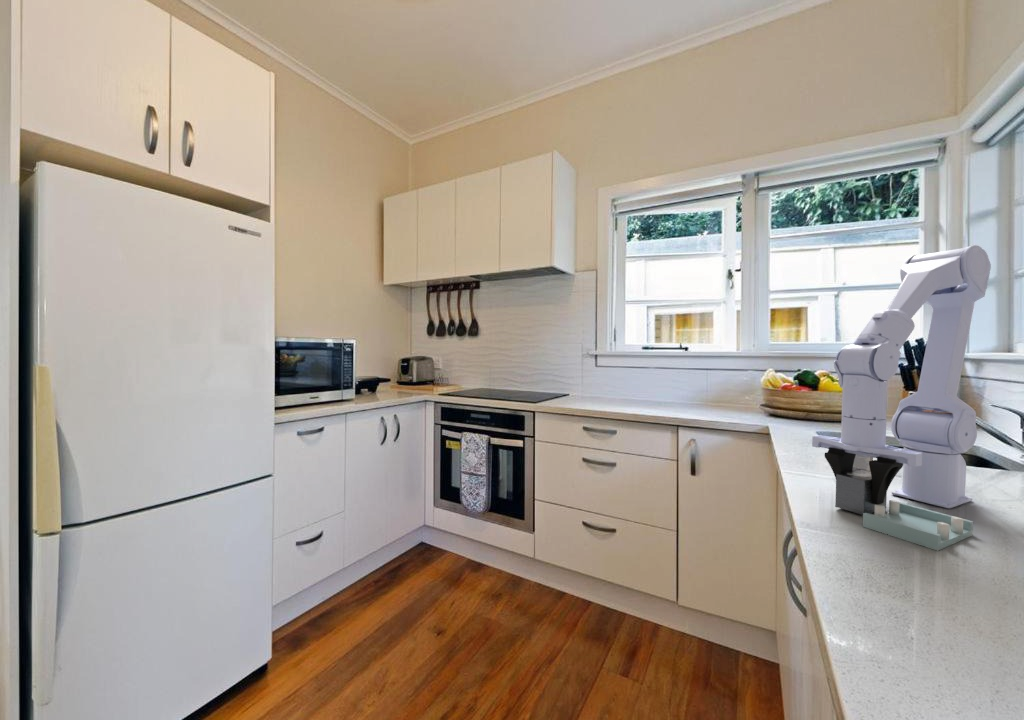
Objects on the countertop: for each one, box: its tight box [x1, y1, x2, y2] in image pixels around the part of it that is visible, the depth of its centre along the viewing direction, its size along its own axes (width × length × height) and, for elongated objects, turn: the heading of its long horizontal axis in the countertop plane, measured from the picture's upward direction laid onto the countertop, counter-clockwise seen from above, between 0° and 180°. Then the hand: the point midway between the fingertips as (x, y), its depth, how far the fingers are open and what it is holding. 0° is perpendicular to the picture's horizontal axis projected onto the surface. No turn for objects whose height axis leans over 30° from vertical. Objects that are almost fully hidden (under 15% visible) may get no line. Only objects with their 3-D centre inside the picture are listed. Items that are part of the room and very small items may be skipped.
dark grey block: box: [834, 469, 888, 516], centre depth 71 cm, size 7×4×6 cm, turn 116°
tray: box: [862, 499, 974, 552], centre depth 63 cm, size 11×8×3 cm
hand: (860, 498), depth 71 cm, fingers closed on dark grey block, 4 cm apart
